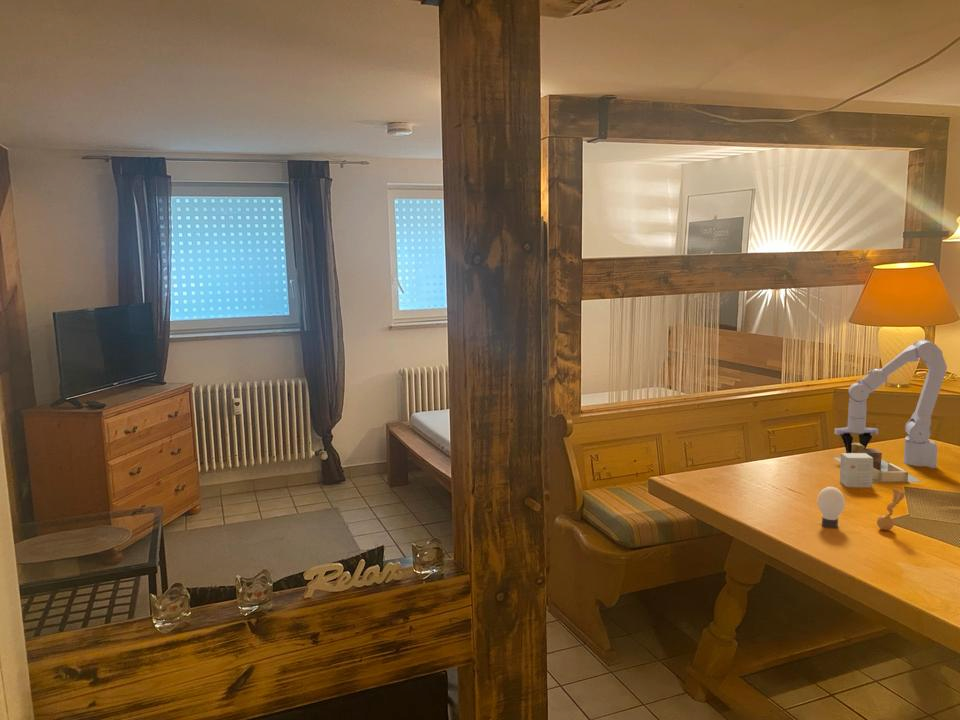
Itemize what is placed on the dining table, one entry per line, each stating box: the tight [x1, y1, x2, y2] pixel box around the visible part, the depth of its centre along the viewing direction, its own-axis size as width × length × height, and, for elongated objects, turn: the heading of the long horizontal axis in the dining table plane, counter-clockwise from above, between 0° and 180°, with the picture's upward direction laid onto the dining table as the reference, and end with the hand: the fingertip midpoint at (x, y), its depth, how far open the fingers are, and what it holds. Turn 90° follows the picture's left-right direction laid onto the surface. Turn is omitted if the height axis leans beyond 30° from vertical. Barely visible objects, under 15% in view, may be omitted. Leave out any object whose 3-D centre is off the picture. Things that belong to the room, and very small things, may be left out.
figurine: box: [876, 488, 905, 531], centre depth 190 cm, size 8×6×12 cm
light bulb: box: [817, 486, 846, 528], centre depth 195 cm, size 7×7×11 cm
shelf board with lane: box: [833, 457, 922, 483], centre depth 242 cm, size 16×28×4 cm, turn 177°
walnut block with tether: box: [851, 442, 883, 470], centre depth 249 cm, size 5×15×6 cm, turn 177°
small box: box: [839, 452, 873, 488], centre depth 226 cm, size 8×6×10 cm
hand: (855, 453), depth 255 cm, fingers closed on walnut block with tether, 4 cm apart
